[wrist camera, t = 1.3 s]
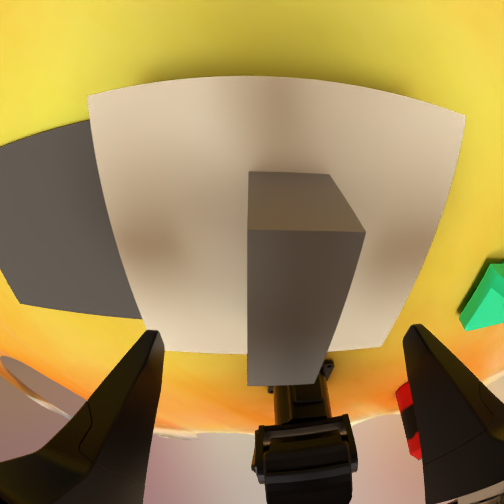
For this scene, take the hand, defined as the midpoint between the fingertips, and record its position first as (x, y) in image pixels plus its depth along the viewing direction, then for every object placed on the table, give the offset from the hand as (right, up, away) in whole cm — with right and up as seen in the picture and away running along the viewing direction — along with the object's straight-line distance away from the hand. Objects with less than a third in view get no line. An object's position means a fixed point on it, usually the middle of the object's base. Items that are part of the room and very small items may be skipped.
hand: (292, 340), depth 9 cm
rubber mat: (-18, +4, +8) cm, 20 cm away
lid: (0, +3, +4) cm, 5 cm away
